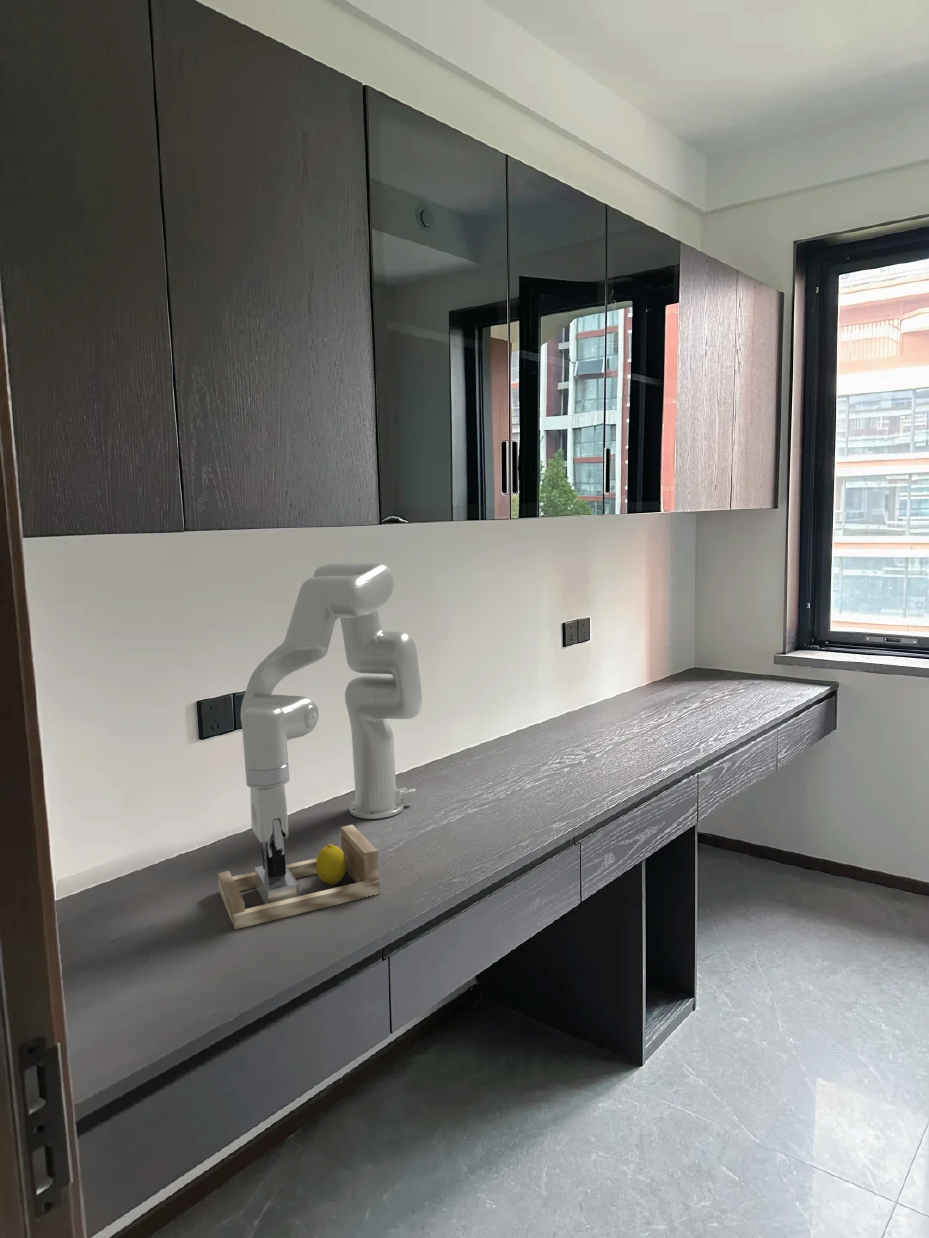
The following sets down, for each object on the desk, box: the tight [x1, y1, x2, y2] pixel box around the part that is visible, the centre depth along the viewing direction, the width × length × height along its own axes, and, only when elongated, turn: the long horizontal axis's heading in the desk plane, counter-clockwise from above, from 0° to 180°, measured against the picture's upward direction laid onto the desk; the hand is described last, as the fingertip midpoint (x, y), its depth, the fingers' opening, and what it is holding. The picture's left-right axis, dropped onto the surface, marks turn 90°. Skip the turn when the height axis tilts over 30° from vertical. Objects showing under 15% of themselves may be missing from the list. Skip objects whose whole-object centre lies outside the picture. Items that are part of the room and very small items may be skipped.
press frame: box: [217, 824, 381, 930], centre depth 155 cm, size 26×16×8 cm, turn 115°
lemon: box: [316, 843, 347, 886], centre depth 158 cm, size 6×6×8 cm
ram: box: [254, 836, 301, 905], centre depth 153 cm, size 6×11×12 cm, turn 25°
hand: (274, 870), depth 153 cm, fingers closed on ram, 3 cm apart
